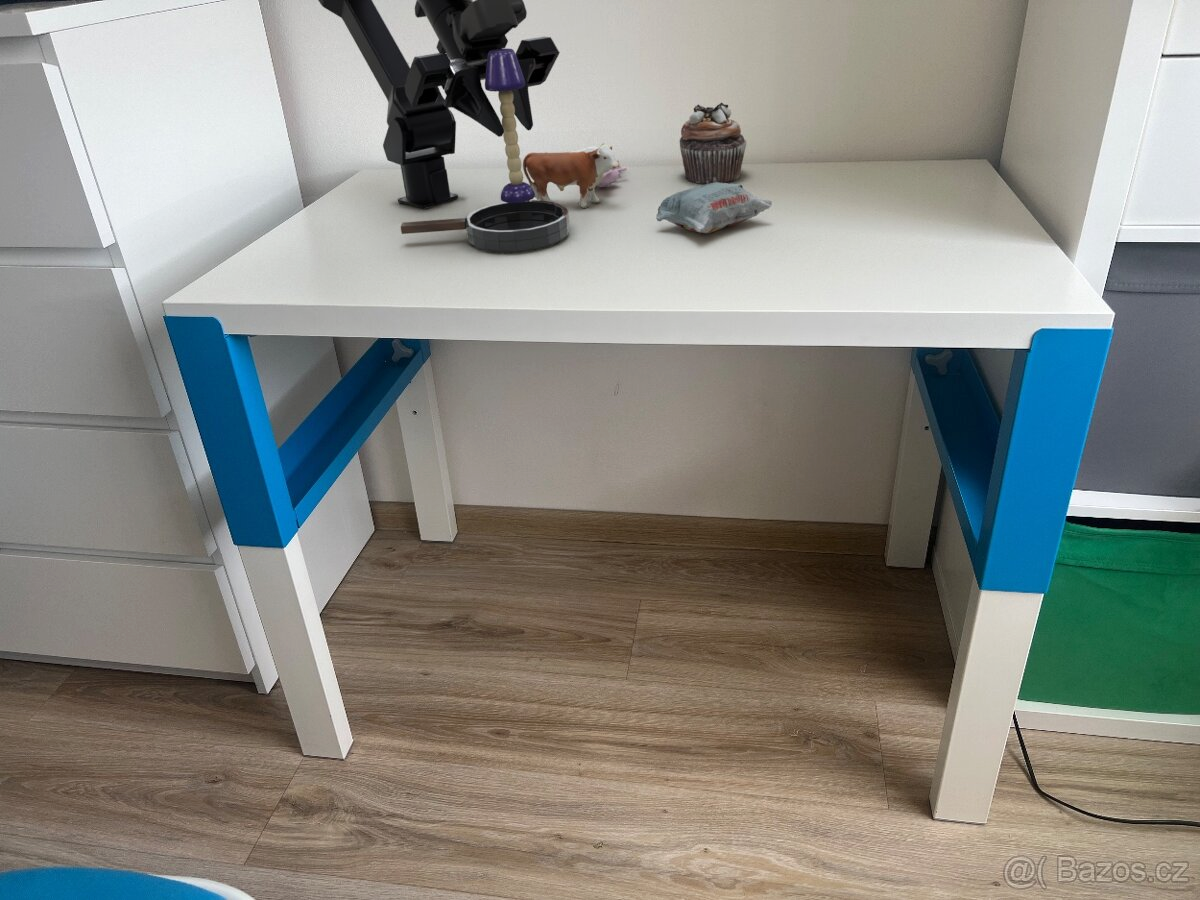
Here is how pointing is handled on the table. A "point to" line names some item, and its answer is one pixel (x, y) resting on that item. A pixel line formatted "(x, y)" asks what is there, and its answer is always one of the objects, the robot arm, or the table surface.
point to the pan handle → (433, 226)
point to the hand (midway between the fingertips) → (516, 131)
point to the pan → (517, 226)
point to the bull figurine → (569, 170)
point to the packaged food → (711, 207)
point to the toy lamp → (508, 118)
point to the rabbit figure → (610, 175)
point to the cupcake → (712, 146)
